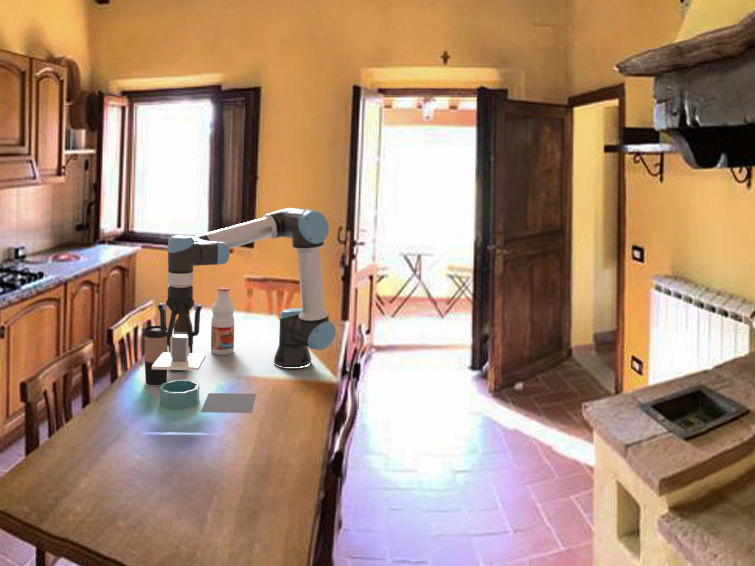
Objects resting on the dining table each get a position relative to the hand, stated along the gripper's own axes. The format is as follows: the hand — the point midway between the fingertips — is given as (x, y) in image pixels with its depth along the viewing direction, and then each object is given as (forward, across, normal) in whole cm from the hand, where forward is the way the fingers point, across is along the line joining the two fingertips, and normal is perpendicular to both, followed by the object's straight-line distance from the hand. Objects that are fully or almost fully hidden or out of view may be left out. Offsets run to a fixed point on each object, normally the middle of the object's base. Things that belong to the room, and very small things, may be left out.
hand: (180, 355), depth 182 cm
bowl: (+16, 0, 0) cm, 16 cm away
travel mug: (+17, +12, -19) cm, 28 cm away
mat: (+16, -16, 0) cm, 23 cm away
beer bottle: (+17, +9, -50) cm, 54 cm away
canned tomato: (+17, +7, -33) cm, 38 cm away
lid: (+2, 0, 0) cm, 2 cm away
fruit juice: (+17, -6, -56) cm, 59 cm away
